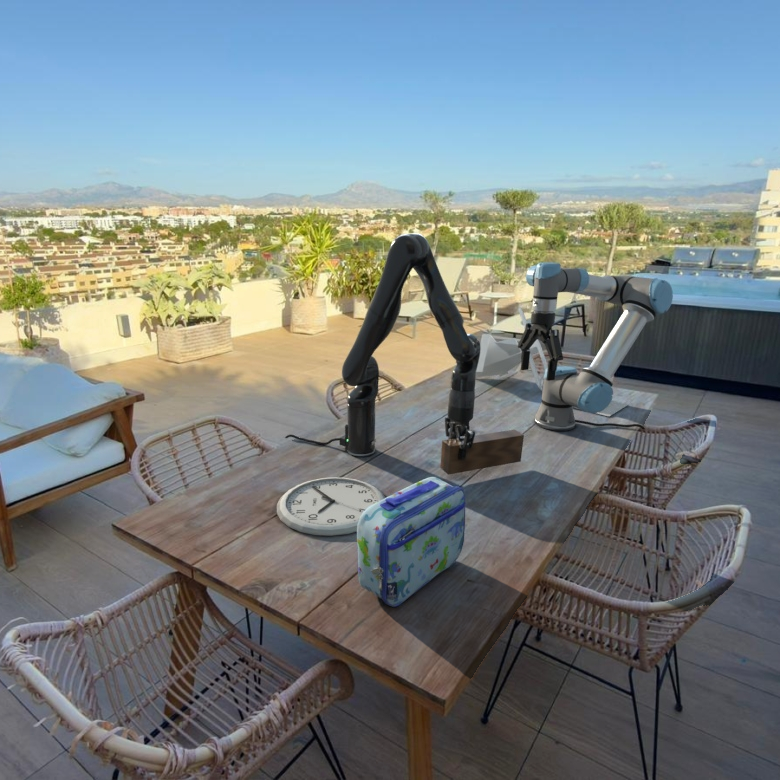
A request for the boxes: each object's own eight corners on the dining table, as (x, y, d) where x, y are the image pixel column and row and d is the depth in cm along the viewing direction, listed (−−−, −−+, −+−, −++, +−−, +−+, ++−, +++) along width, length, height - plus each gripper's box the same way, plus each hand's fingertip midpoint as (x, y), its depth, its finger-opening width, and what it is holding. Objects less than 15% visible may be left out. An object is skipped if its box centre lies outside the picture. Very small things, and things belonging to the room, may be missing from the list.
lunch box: (386, 620, 101) (388, 525, 95) (350, 593, 108) (349, 503, 102) (468, 563, 119) (474, 480, 112) (432, 543, 126) (436, 464, 120)
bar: (511, 455, 171) (514, 429, 168) (520, 461, 166) (524, 435, 164) (440, 467, 160) (442, 440, 157) (448, 474, 156) (450, 446, 153)
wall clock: (392, 527, 129) (268, 531, 127) (391, 533, 130) (269, 537, 127) (383, 473, 158) (282, 475, 155) (383, 478, 158) (282, 480, 156)
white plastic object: (488, 419, 265) (468, 396, 240) (469, 347, 287) (449, 319, 262) (559, 395, 253) (546, 369, 228) (534, 321, 275) (519, 290, 250)
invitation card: (608, 416, 214) (573, 407, 224) (608, 416, 214) (573, 408, 224) (628, 404, 229) (594, 396, 238) (628, 405, 229) (594, 397, 238)
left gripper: (438, 396, 158) (434, 448, 163) (463, 412, 145) (458, 467, 151) (459, 394, 161) (455, 444, 166) (485, 409, 148) (480, 463, 154)
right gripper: (511, 306, 179) (505, 366, 185) (560, 318, 157) (552, 385, 163) (528, 305, 182) (523, 364, 188) (580, 317, 160) (571, 383, 166)
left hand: (457, 455), depth 158 cm, fingers closed on bar, 5 cm apart
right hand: (537, 374), depth 176 cm, fingers open, 13 cm apart
